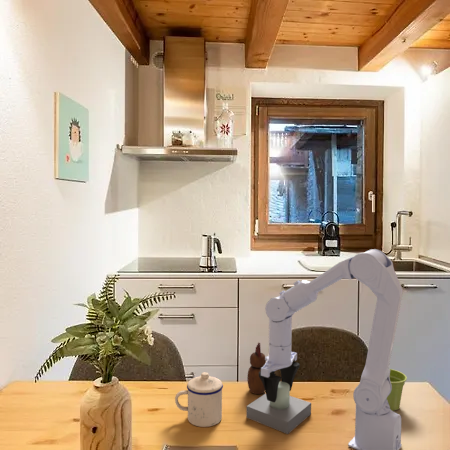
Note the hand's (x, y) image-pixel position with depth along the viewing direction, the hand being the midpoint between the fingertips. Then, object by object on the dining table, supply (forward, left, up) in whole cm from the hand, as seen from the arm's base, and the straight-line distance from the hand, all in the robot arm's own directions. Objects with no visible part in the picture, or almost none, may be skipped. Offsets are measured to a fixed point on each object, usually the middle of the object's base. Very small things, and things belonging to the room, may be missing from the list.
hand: (279, 395), depth 106 cm
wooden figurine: (+12, -8, -6) cm, 15 cm away
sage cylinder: (0, 0, -2) cm, 2 cm away
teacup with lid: (+15, +14, -6) cm, 21 cm away
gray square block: (0, 0, -5) cm, 5 cm away
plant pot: (-20, -23, -6) cm, 31 cm away
